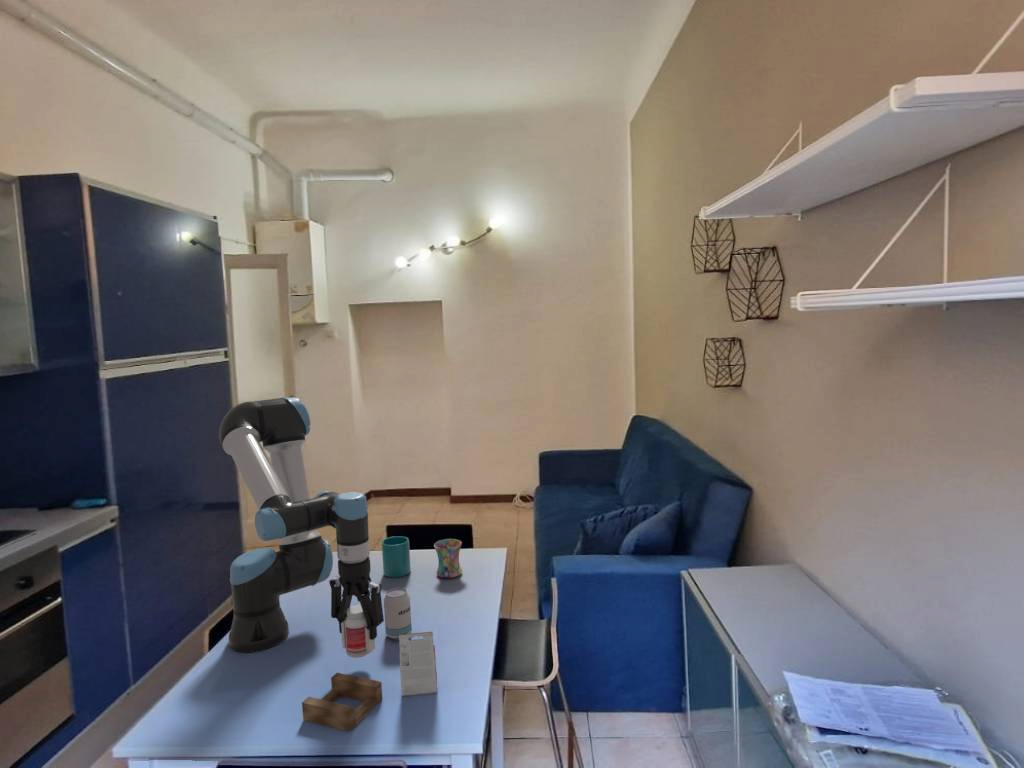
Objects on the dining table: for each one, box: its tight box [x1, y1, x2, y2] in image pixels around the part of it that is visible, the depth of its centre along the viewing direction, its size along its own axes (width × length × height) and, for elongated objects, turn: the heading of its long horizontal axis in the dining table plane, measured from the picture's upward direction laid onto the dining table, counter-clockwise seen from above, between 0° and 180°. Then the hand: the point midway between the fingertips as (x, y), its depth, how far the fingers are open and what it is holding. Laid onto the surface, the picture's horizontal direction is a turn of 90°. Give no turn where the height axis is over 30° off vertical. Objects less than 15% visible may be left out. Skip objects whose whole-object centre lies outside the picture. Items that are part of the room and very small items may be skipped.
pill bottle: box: [344, 604, 368, 659], centre depth 152 cm, size 6×6×11 cm
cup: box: [381, 535, 412, 578], centre depth 211 cm, size 9×12×11 cm
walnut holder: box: [301, 672, 383, 733], centre depth 136 cm, size 12×12×4 cm
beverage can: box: [383, 587, 413, 641], centre depth 167 cm, size 7×7×12 cm
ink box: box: [398, 631, 438, 697], centre depth 141 cm, size 4×8×15 cm, turn 96°
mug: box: [433, 538, 463, 579], centre depth 205 cm, size 12×9×11 cm
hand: (358, 647), depth 152 cm, fingers closed on pill bottle, 6 cm apart
